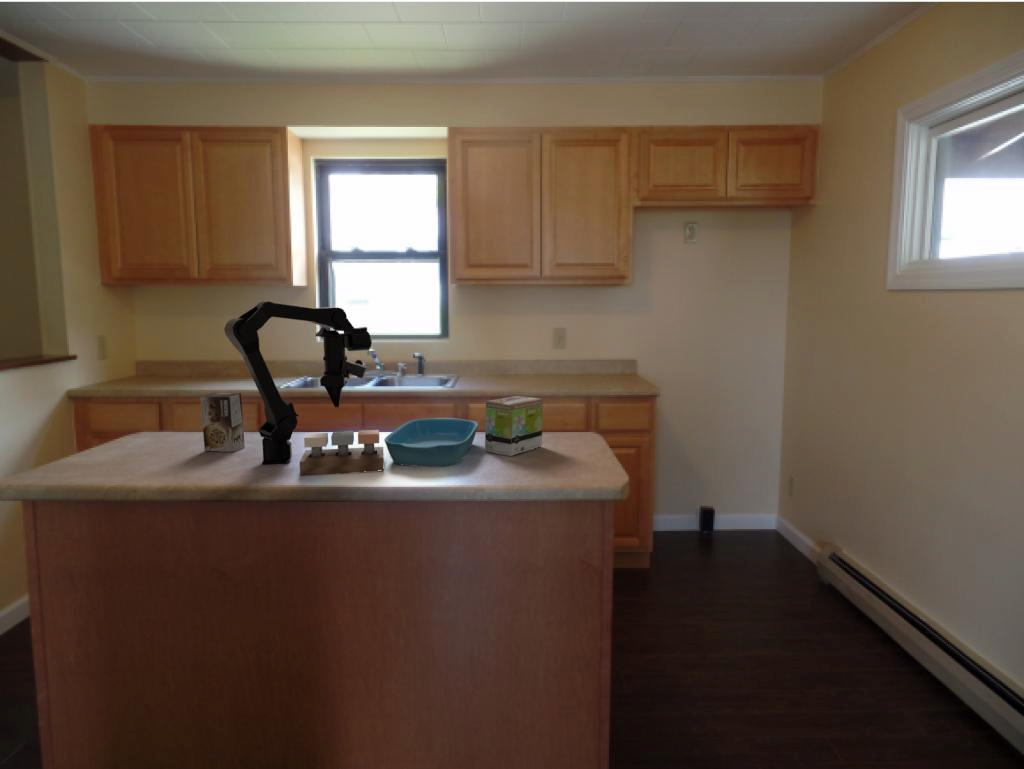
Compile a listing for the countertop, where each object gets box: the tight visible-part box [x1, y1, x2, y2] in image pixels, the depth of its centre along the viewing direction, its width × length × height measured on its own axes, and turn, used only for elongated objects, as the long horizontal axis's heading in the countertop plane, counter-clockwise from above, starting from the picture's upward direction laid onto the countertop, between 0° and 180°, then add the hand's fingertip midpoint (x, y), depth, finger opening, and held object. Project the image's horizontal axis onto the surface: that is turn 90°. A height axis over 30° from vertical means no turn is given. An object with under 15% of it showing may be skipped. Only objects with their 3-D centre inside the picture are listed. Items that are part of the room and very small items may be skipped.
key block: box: [299, 446, 384, 476], centre depth 158 cm, size 20×12×4 cm, turn 102°
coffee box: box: [199, 392, 246, 453], centre depth 176 cm, size 9×6×16 cm
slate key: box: [330, 430, 355, 456], centre depth 157 cm, size 5×5×6 cm
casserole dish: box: [384, 417, 479, 467], centre depth 172 cm, size 37×22×7 cm, turn 174°
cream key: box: [303, 432, 329, 457], centre depth 156 cm, size 5×5×6 cm
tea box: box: [484, 395, 544, 457], centre depth 176 cm, size 15×10×15 cm, turn 143°
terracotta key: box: [357, 429, 380, 455], centre depth 158 cm, size 5×5×6 cm
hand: (336, 407), depth 174 cm, fingers closed
